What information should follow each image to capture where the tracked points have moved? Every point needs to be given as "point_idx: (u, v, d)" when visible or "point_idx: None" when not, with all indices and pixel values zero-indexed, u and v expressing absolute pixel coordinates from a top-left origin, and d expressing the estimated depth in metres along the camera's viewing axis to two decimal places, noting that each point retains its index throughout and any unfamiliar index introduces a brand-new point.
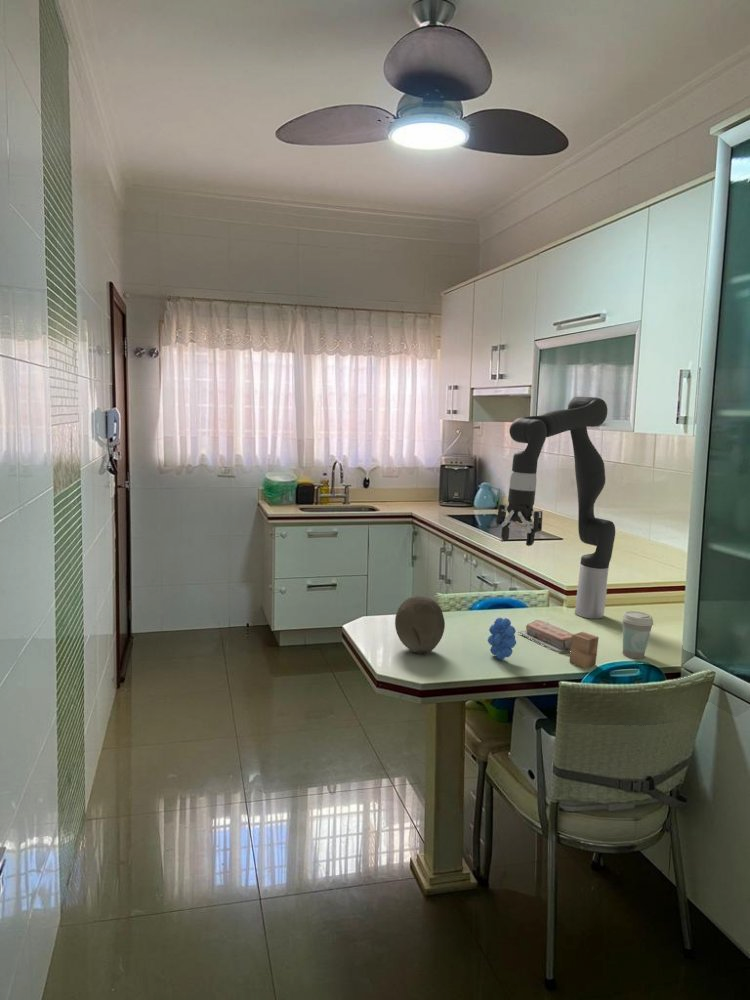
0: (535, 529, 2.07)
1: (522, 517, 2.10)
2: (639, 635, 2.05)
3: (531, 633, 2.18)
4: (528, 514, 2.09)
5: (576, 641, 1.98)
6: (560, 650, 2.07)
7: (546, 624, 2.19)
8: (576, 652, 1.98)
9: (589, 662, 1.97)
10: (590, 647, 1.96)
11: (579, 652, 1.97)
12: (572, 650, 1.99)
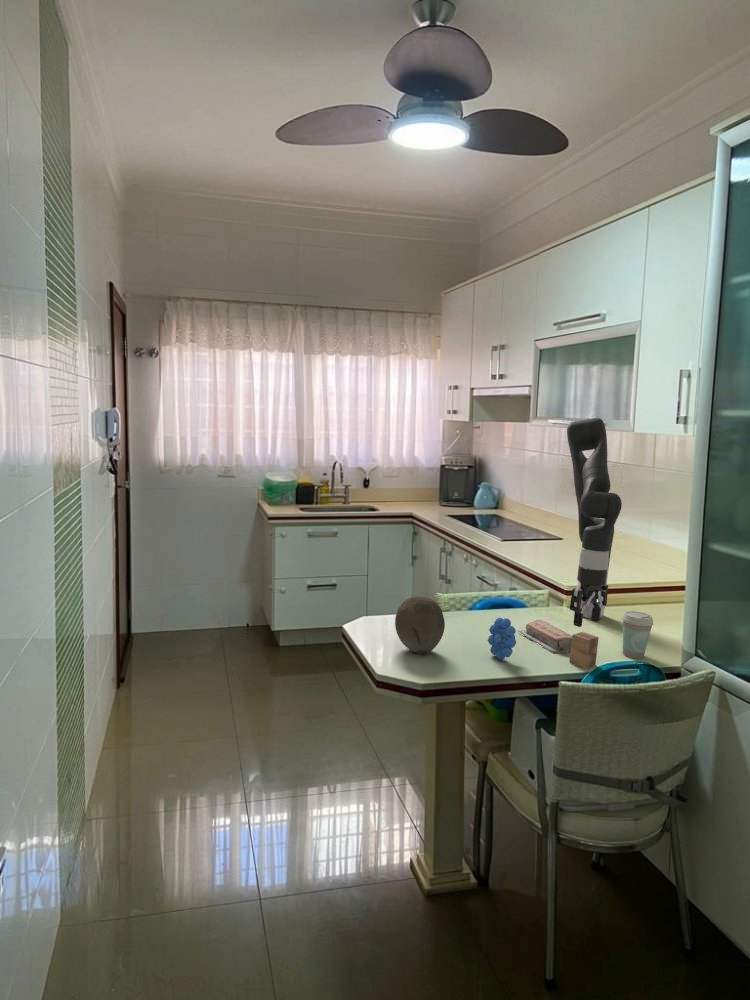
0: (606, 603, 2.01)
1: (599, 595, 1.97)
2: (639, 635, 2.05)
3: (530, 632, 2.19)
4: (600, 590, 1.98)
5: (576, 641, 1.98)
6: (554, 650, 2.07)
7: (546, 624, 2.19)
8: (576, 652, 1.98)
9: (589, 662, 1.97)
10: (590, 647, 1.96)
11: (579, 652, 1.97)
12: (572, 650, 1.99)
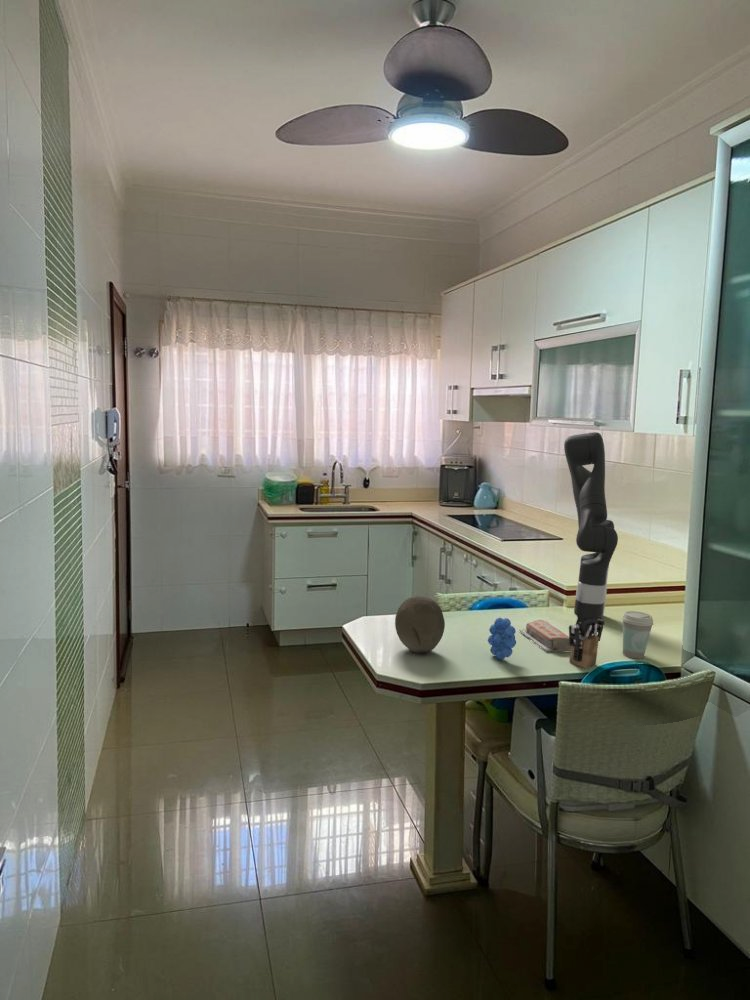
0: (599, 639, 2.01)
1: (595, 629, 1.98)
2: (639, 635, 2.05)
3: (529, 632, 2.20)
4: (597, 623, 2.00)
5: None
6: (547, 649, 2.07)
7: (546, 624, 2.19)
8: None
9: (589, 661, 1.97)
10: (590, 646, 1.96)
11: None
12: (572, 650, 1.99)
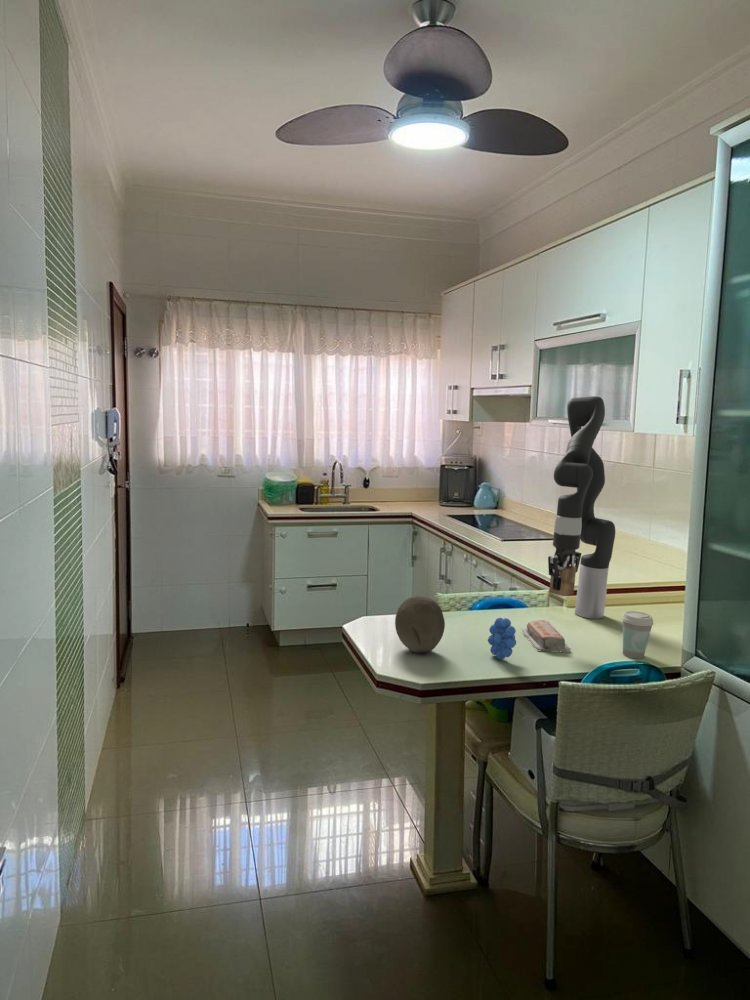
0: (577, 570, 2.15)
1: (573, 560, 2.12)
2: (639, 635, 2.05)
3: (529, 631, 2.20)
4: (574, 555, 2.13)
5: None
6: (539, 648, 2.08)
7: (546, 624, 2.19)
8: None
9: (568, 590, 2.11)
10: (568, 576, 2.10)
11: None
12: (552, 580, 2.12)
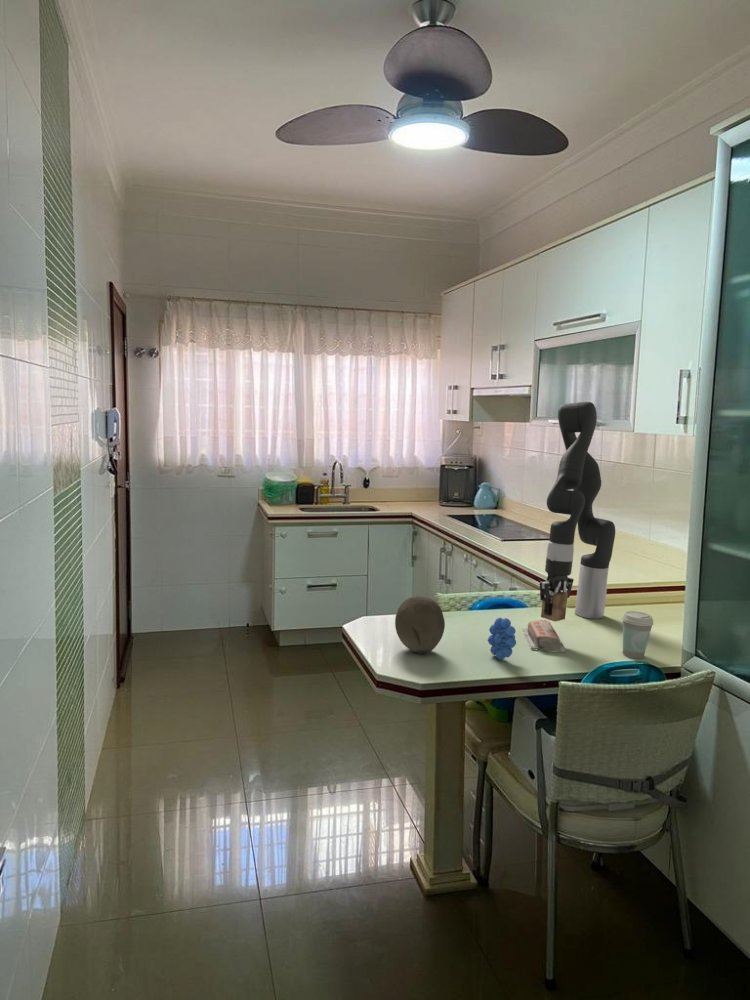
0: (569, 595, 2.17)
1: (565, 586, 2.14)
2: (639, 635, 2.05)
3: None
4: (566, 581, 2.16)
5: None
6: (533, 647, 2.09)
7: (546, 624, 2.19)
8: None
9: (559, 615, 2.13)
10: (559, 601, 2.12)
11: None
12: (543, 605, 2.15)
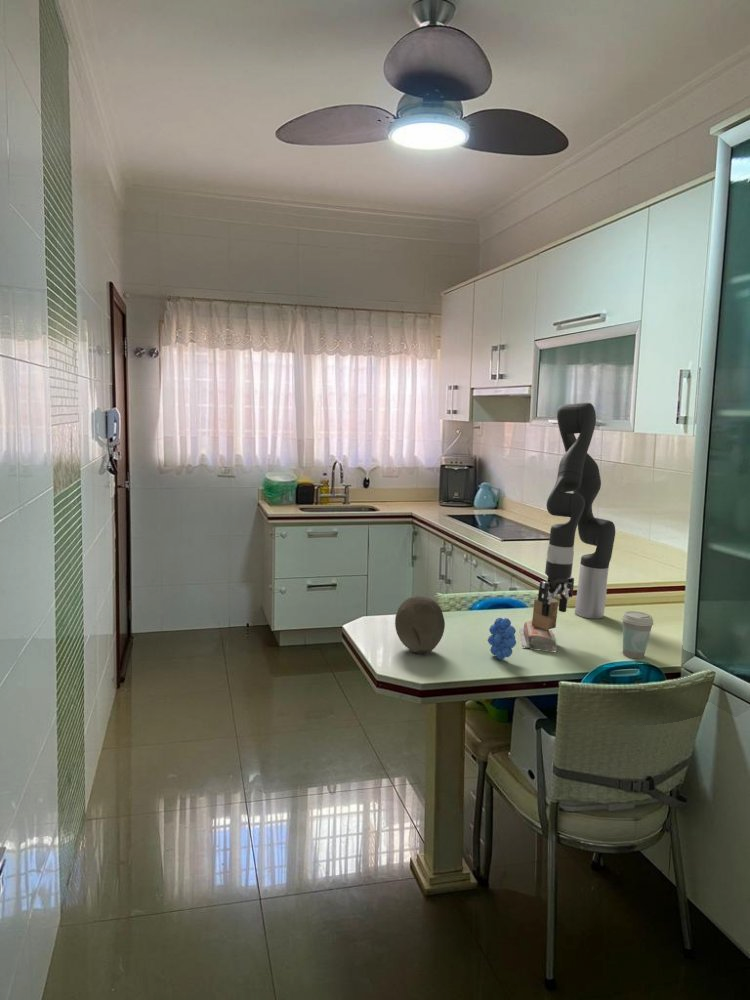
0: (572, 594, 2.18)
1: (565, 587, 2.15)
2: (639, 635, 2.05)
3: (524, 630, 2.22)
4: (567, 583, 2.16)
5: (538, 605, 2.15)
6: (525, 646, 2.09)
7: None
8: (538, 615, 2.15)
9: (550, 624, 2.14)
10: (550, 610, 2.13)
11: (540, 615, 2.14)
12: (534, 614, 2.16)
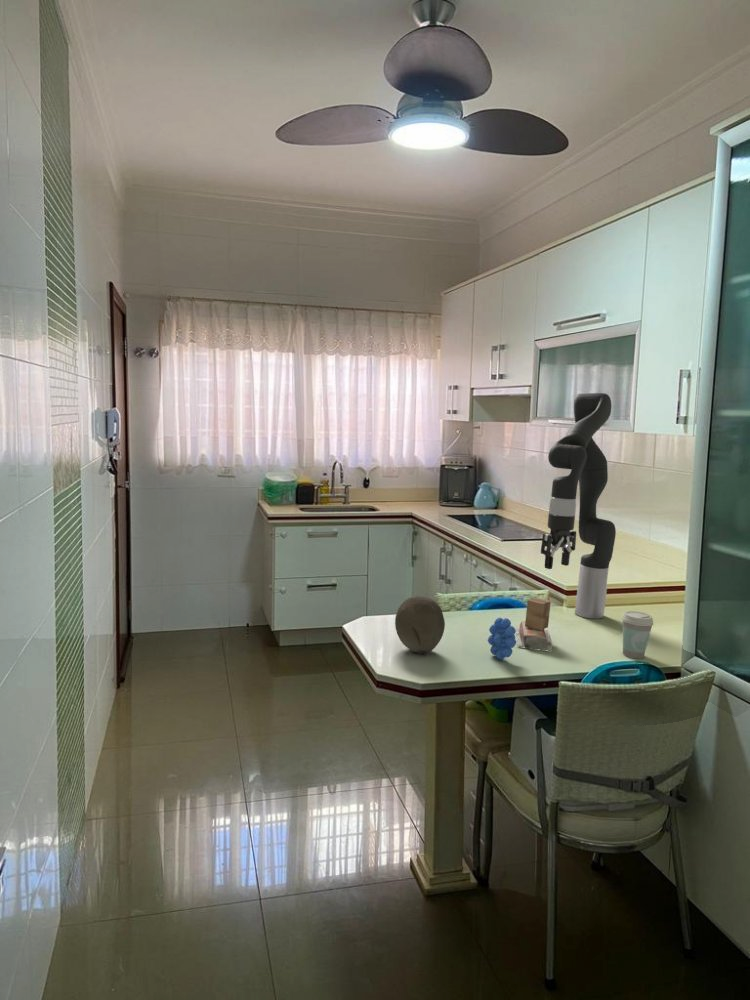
0: (574, 548, 2.18)
1: (568, 540, 2.15)
2: (639, 635, 2.05)
3: None
4: (569, 536, 2.16)
5: (531, 606, 2.14)
6: (520, 645, 2.10)
7: None
8: (532, 616, 2.14)
9: (543, 624, 2.14)
10: (544, 610, 2.13)
11: (534, 615, 2.14)
12: (527, 614, 2.15)
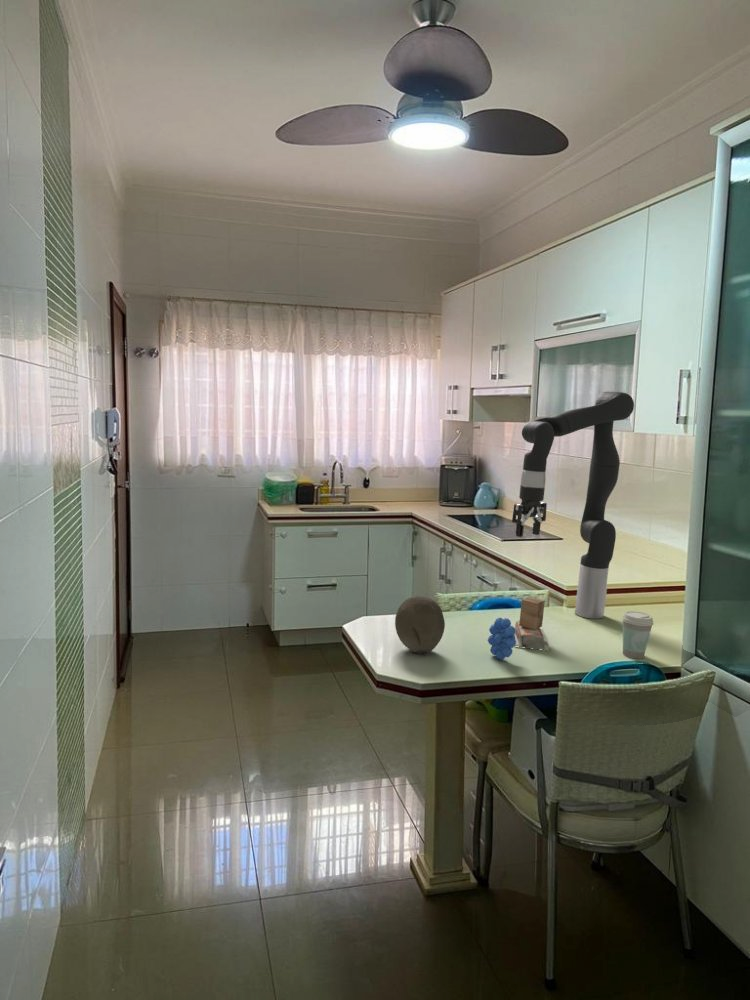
0: (545, 518, 2.34)
1: (538, 511, 2.30)
2: (639, 635, 2.05)
3: None
4: (540, 507, 2.32)
5: (525, 605, 2.14)
6: (517, 645, 2.10)
7: None
8: (526, 615, 2.14)
9: (537, 623, 2.14)
10: (538, 609, 2.13)
11: (528, 615, 2.14)
12: (522, 614, 2.15)
